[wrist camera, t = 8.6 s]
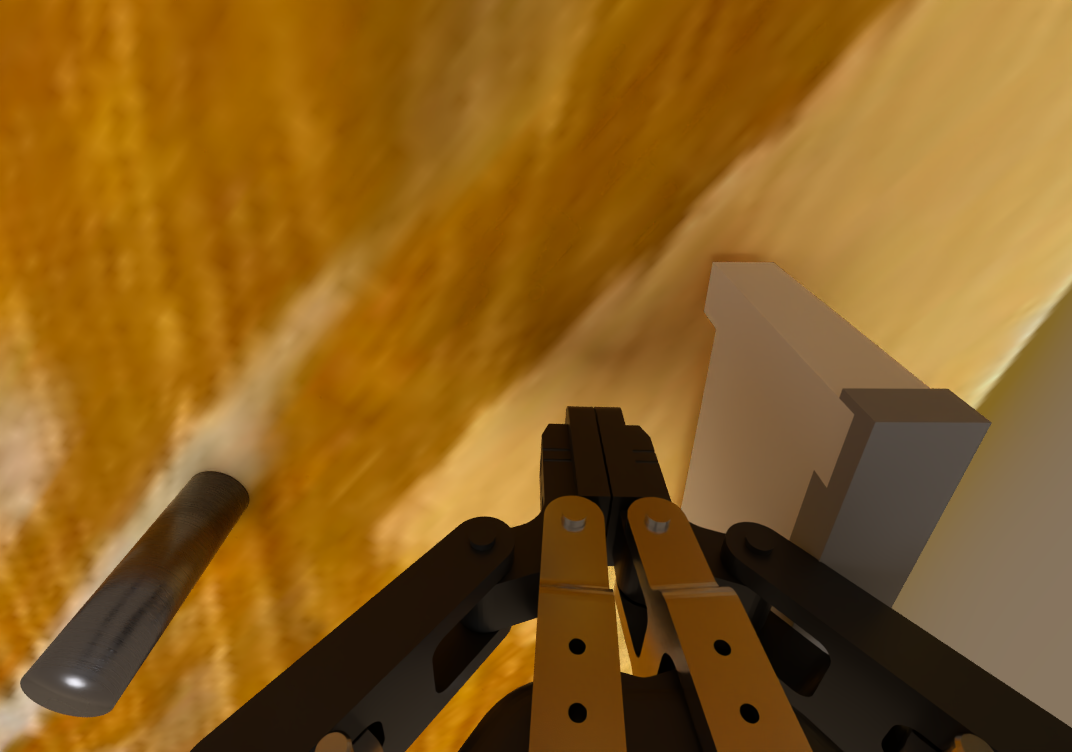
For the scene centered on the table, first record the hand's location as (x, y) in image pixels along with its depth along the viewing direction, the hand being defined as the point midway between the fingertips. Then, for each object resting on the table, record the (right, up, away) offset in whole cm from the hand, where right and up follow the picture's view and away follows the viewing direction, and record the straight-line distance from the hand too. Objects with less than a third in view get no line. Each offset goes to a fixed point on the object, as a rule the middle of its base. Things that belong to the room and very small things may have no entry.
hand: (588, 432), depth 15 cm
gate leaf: (+5, -2, +5) cm, 7 cm away
